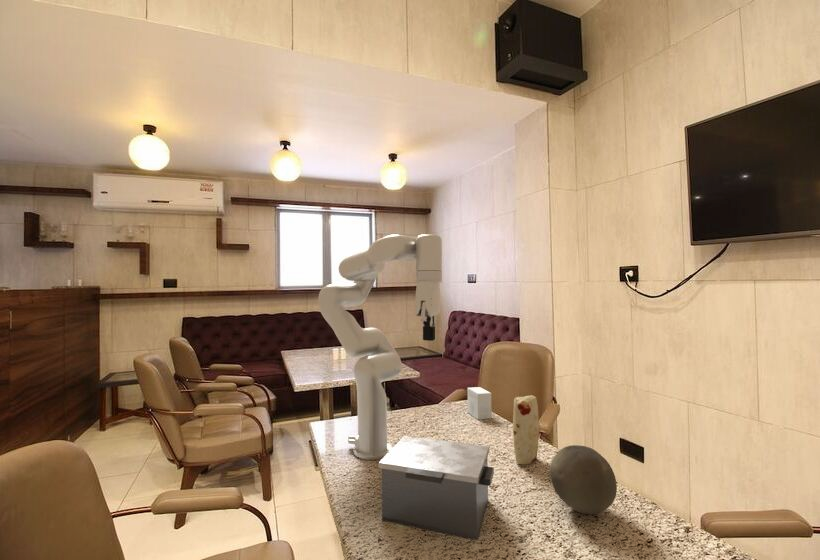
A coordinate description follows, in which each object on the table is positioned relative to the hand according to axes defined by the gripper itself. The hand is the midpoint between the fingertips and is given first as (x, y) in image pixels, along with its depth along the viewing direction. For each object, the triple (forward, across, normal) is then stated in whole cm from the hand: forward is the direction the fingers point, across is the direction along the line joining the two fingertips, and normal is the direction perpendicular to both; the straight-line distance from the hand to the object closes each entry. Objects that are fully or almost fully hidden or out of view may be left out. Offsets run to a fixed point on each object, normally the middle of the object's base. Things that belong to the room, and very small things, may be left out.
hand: (429, 340), depth 111 cm
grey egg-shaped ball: (+38, +6, +41) cm, 56 cm away
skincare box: (+39, -54, +4) cm, 66 cm away
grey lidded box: (+38, +17, +8) cm, 43 cm away
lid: (+26, +18, +8) cm, 33 cm away
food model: (+38, -16, +26) cm, 49 cm away
